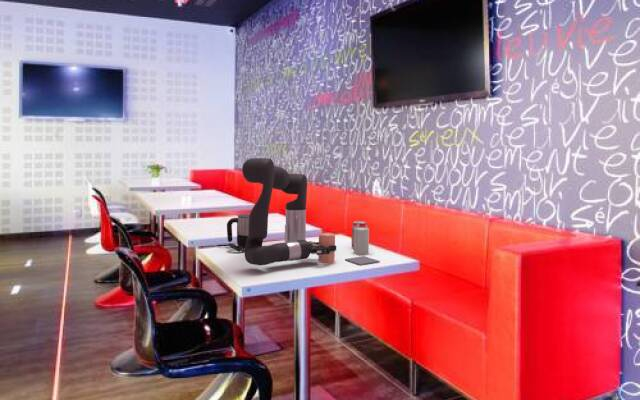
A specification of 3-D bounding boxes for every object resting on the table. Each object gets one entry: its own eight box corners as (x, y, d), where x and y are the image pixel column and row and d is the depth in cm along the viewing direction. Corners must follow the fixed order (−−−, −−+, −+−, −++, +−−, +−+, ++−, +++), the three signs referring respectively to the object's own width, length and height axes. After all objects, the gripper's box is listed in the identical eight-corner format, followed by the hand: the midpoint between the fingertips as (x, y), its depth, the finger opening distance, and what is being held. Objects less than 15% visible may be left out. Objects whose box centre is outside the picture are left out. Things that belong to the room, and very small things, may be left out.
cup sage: (351, 252, 218) (351, 227, 216) (362, 251, 221) (362, 226, 220) (359, 255, 213) (360, 230, 211) (371, 253, 216) (371, 228, 215)
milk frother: (255, 245, 232) (255, 213, 230) (262, 252, 217) (262, 218, 215) (224, 246, 227) (224, 214, 226) (229, 254, 212) (229, 219, 211)
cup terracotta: (315, 260, 203) (316, 233, 202) (328, 258, 206) (328, 232, 205) (324, 263, 198) (324, 236, 196) (337, 261, 201) (337, 234, 200)
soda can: (366, 250, 224) (366, 223, 222) (350, 249, 225) (350, 223, 224) (367, 247, 230) (368, 221, 229) (352, 246, 232) (353, 220, 230)
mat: (344, 260, 203) (344, 259, 203) (364, 257, 209) (364, 256, 209) (360, 265, 195) (360, 264, 195) (379, 262, 201) (379, 261, 201)
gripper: (305, 244, 187) (340, 239, 196) (286, 237, 199) (320, 234, 208) (305, 263, 188) (339, 258, 197) (286, 256, 199) (319, 251, 208)
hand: (329, 246), depth 202 cm, fingers open, 8 cm apart
